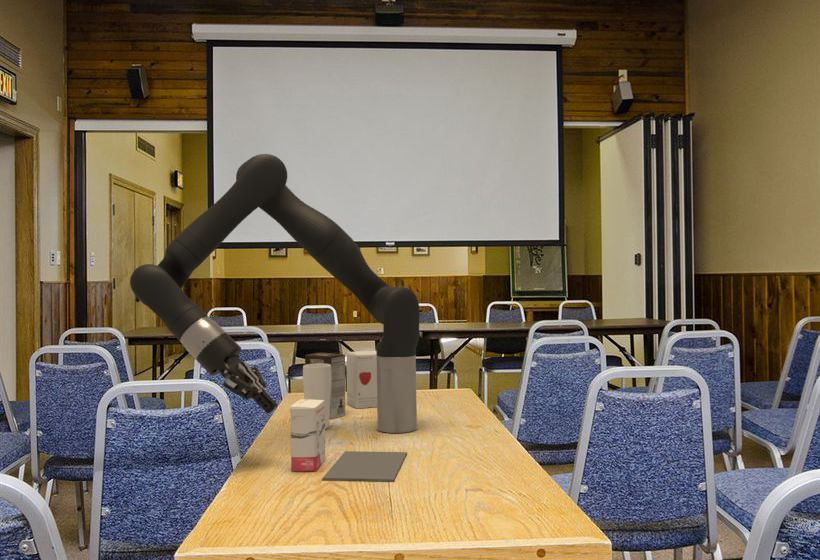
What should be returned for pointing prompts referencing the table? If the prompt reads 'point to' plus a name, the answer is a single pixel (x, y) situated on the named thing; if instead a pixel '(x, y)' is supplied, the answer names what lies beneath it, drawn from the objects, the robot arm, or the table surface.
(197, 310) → the robot arm
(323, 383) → the drinking glass
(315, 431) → the ink box
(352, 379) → the supplement box
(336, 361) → the coffee box
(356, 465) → the charcoal mat
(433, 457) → the table surface
